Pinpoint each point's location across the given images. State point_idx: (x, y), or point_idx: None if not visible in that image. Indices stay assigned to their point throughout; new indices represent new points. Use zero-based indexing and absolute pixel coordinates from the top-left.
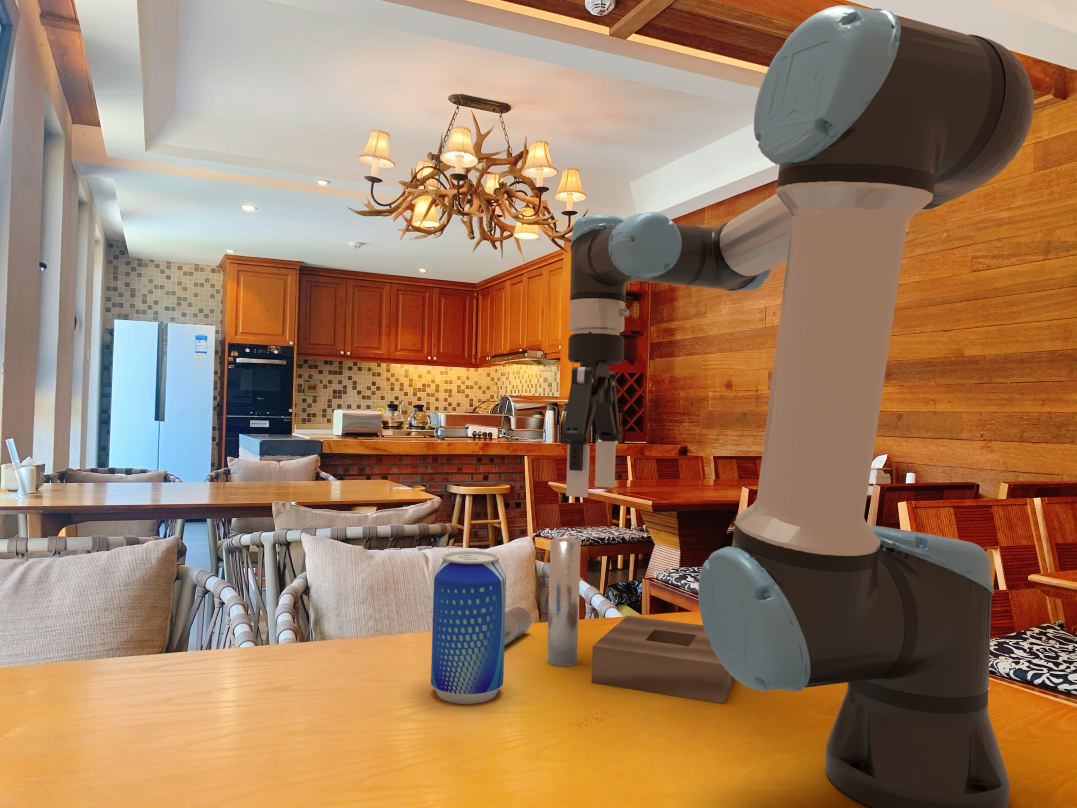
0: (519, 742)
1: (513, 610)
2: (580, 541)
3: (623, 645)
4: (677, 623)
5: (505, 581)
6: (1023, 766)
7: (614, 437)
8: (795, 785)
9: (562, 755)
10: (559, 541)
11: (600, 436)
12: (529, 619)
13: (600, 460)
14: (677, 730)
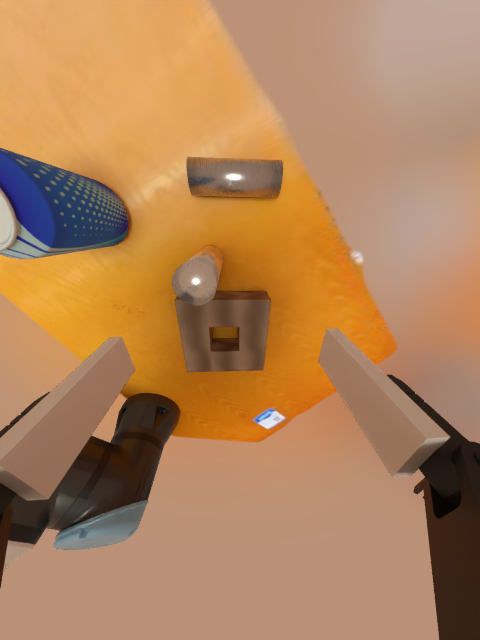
0: (67, 285)
1: (264, 176)
2: (201, 304)
3: (188, 318)
4: (262, 336)
5: (39, 257)
6: (190, 431)
7: (424, 495)
8: (124, 386)
9: (74, 310)
10: (181, 280)
11: (457, 470)
12: (273, 196)
13: (360, 384)
14: (143, 346)
